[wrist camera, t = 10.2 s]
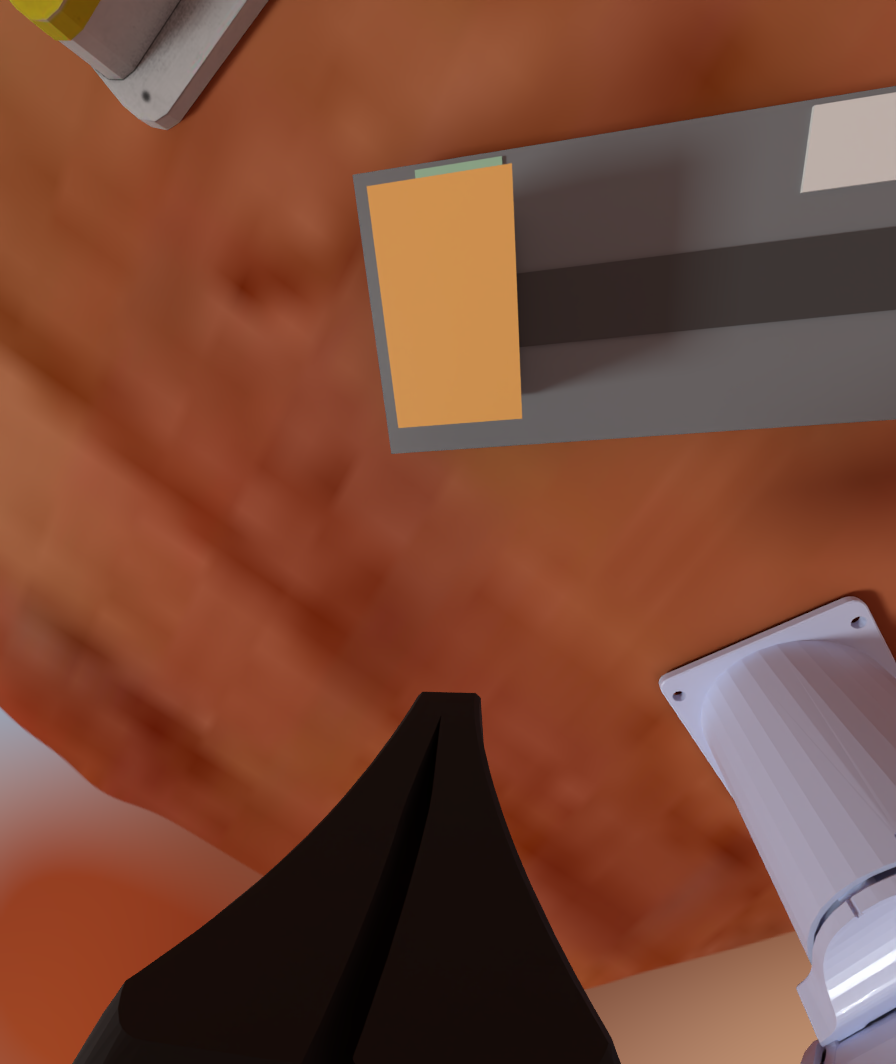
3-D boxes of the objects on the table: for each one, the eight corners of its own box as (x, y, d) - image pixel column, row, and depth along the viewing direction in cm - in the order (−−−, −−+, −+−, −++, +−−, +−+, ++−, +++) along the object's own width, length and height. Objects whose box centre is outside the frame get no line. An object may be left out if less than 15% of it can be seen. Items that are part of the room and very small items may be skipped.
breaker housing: (944, 104, 13) (1018, 64, 11) (878, 408, 16) (927, 417, 14) (371, 193, 16) (351, 173, 14) (404, 442, 18) (391, 454, 16)
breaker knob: (513, 210, 13) (512, 163, 10) (521, 399, 15) (522, 418, 11) (406, 225, 14) (366, 186, 10) (426, 407, 15) (398, 428, 12)
